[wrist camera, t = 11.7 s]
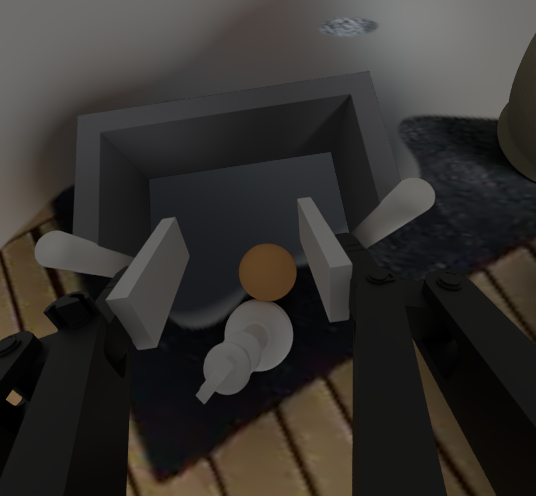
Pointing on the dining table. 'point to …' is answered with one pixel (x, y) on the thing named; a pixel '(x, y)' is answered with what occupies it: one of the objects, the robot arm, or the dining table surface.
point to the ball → (267, 272)
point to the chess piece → (247, 347)
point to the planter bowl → (521, 117)
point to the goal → (228, 162)
